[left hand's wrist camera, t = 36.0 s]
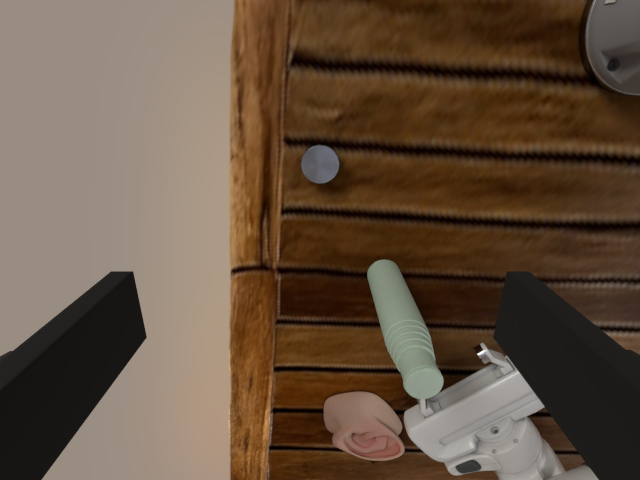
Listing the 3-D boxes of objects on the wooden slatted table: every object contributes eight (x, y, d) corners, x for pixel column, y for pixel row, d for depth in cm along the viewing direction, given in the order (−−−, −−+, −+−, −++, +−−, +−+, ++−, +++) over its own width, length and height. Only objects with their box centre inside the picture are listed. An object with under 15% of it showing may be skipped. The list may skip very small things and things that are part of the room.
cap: (303, 140, 43) (302, 142, 41) (341, 145, 43) (342, 147, 41) (299, 177, 45) (298, 181, 43) (336, 182, 45) (336, 186, 43)
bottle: (397, 288, 50) (446, 406, 31) (365, 287, 50) (394, 404, 31) (401, 259, 49) (455, 364, 29) (368, 258, 49) (400, 362, 29)
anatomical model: (310, 424, 54) (380, 397, 52) (310, 403, 58) (376, 377, 56) (348, 479, 58) (414, 456, 56) (346, 456, 62) (408, 434, 60)
